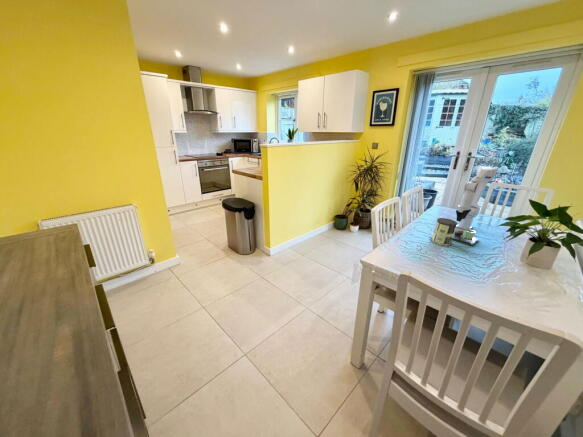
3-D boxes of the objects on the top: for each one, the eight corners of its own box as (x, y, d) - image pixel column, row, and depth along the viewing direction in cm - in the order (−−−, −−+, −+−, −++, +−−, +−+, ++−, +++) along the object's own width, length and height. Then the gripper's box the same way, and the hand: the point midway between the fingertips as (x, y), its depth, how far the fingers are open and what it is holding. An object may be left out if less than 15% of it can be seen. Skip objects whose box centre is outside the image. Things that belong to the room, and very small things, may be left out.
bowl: (464, 234, 144) (466, 228, 143) (474, 237, 141) (476, 231, 139) (461, 236, 141) (463, 230, 140) (471, 240, 137) (474, 233, 136)
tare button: (458, 231, 151) (459, 229, 150) (462, 232, 149) (463, 230, 148) (457, 232, 149) (457, 229, 149) (461, 233, 148) (462, 231, 147)
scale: (455, 233, 154) (456, 229, 152) (478, 240, 144) (479, 236, 143) (448, 238, 146) (449, 234, 145) (471, 246, 137) (473, 242, 136)
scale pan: (462, 234, 146) (462, 233, 146) (476, 238, 141) (477, 237, 140) (458, 237, 142) (458, 236, 142) (473, 241, 136) (473, 241, 136)
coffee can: (447, 239, 145) (454, 219, 139) (452, 247, 136) (459, 225, 130) (429, 236, 148) (435, 216, 143) (433, 243, 139) (439, 222, 134)
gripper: (463, 197, 153) (457, 215, 159) (455, 201, 145) (449, 220, 150) (476, 200, 148) (469, 219, 154) (468, 204, 140) (462, 223, 145)
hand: (460, 219), depth 152 cm, fingers open, 7 cm apart
